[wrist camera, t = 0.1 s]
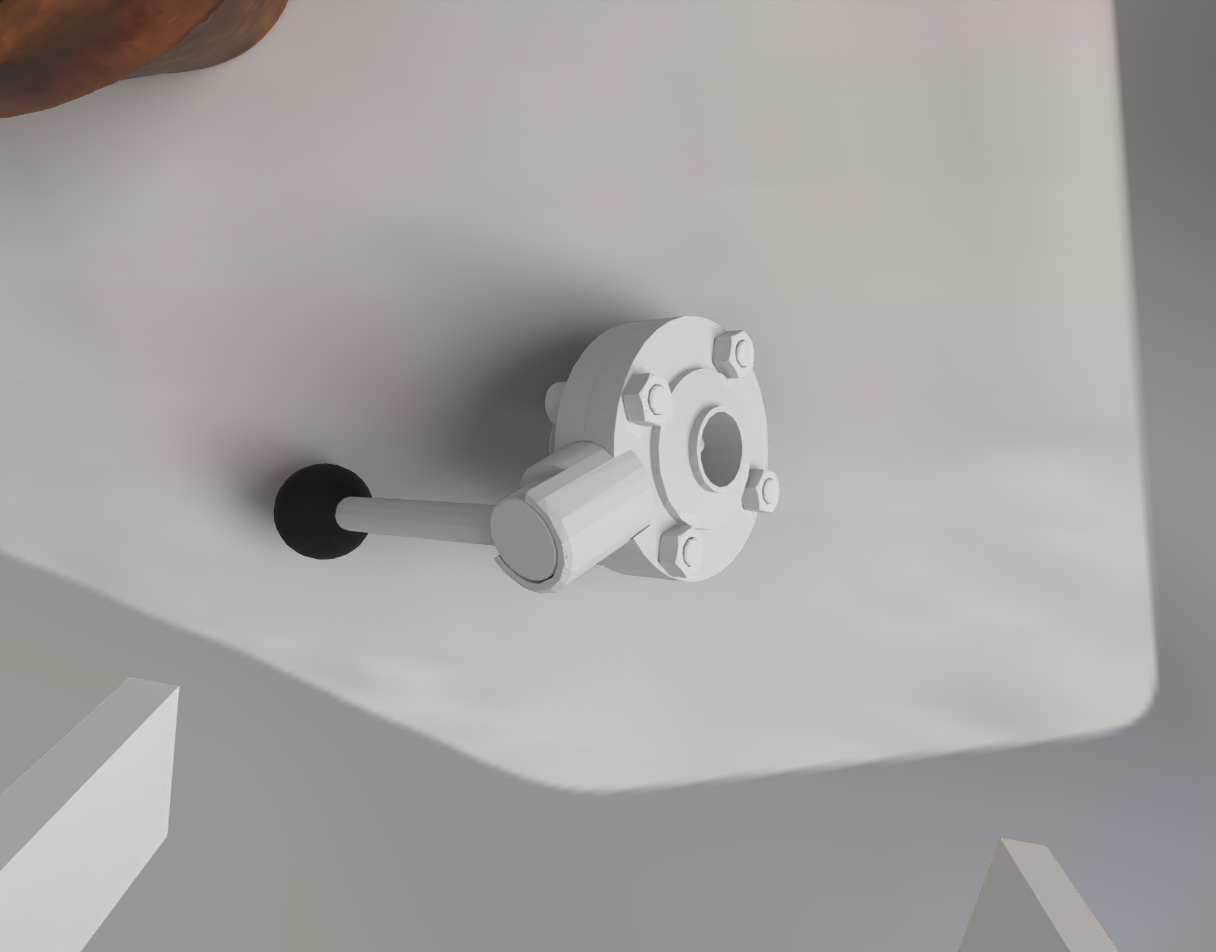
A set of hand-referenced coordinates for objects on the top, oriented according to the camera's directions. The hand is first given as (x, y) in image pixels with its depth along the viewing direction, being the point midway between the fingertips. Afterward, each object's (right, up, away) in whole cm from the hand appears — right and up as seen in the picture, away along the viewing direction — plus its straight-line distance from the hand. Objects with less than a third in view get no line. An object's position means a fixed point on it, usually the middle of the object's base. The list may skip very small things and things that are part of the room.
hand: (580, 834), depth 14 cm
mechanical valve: (+1, +9, +30) cm, 31 cm away
